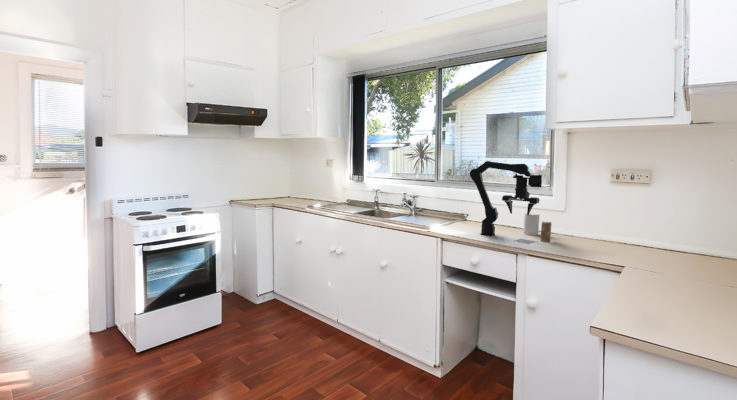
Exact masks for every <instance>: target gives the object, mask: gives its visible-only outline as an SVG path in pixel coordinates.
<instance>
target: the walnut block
mask: <svg viewBox="0 0 737 400" xmlns="http://www.w3.org/2000/svg"><path fill="white" fill-rule="evenodd" d="M552 223H553V222H551V221H542V222H541V227H540V228H541V229H540V239H541V240H540V241H544V242H543V243H546V242H550V240H551V234H552Z"/></svg>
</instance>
